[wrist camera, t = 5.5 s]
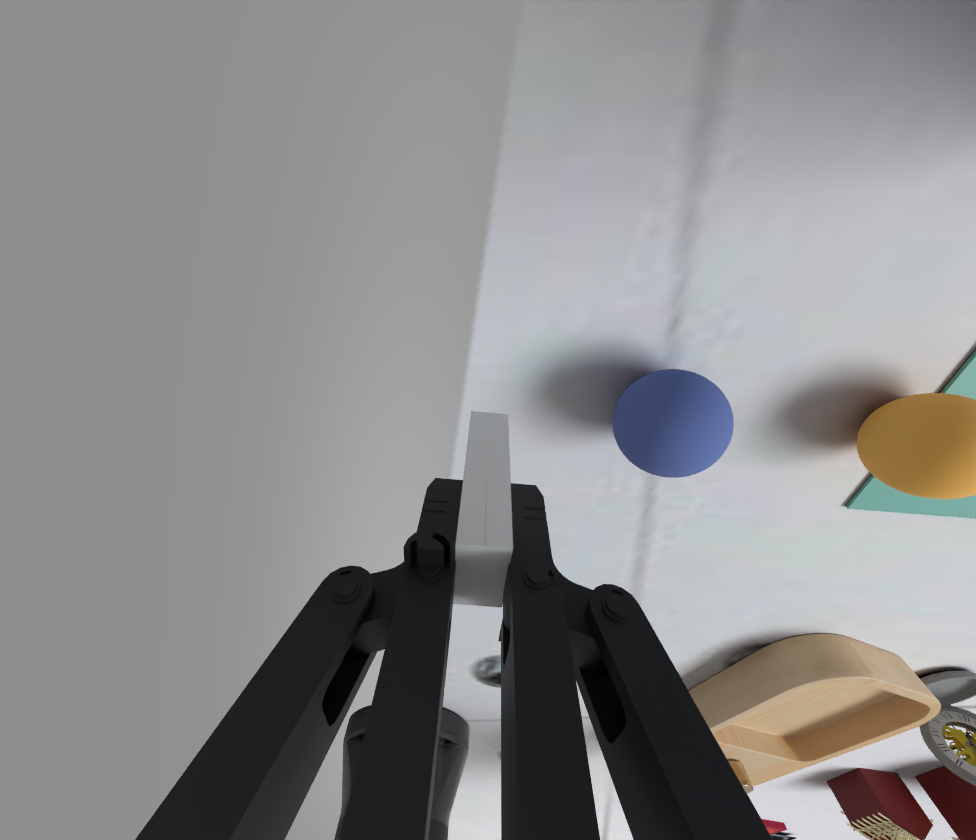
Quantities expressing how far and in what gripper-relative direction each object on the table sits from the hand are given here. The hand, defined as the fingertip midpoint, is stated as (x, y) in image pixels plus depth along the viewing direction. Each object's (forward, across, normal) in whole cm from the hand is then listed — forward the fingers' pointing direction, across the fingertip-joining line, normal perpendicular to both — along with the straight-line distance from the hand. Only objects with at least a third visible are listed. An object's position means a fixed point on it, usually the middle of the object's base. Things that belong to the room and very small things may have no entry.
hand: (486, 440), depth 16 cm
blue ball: (+3, -9, 0) cm, 10 cm away
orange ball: (+4, -23, 0) cm, 24 cm away
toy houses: (+6, -78, +58) cm, 97 cm away
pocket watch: (+6, -50, +31) cm, 59 cm away
